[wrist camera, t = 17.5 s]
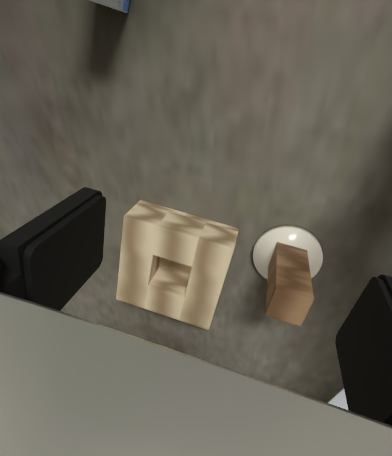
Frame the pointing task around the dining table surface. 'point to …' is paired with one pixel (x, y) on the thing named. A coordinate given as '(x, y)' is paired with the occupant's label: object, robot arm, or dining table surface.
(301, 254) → the walnut peg
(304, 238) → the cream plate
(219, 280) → the birch pocket block
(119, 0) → the medicine box
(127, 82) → the dining table surface
